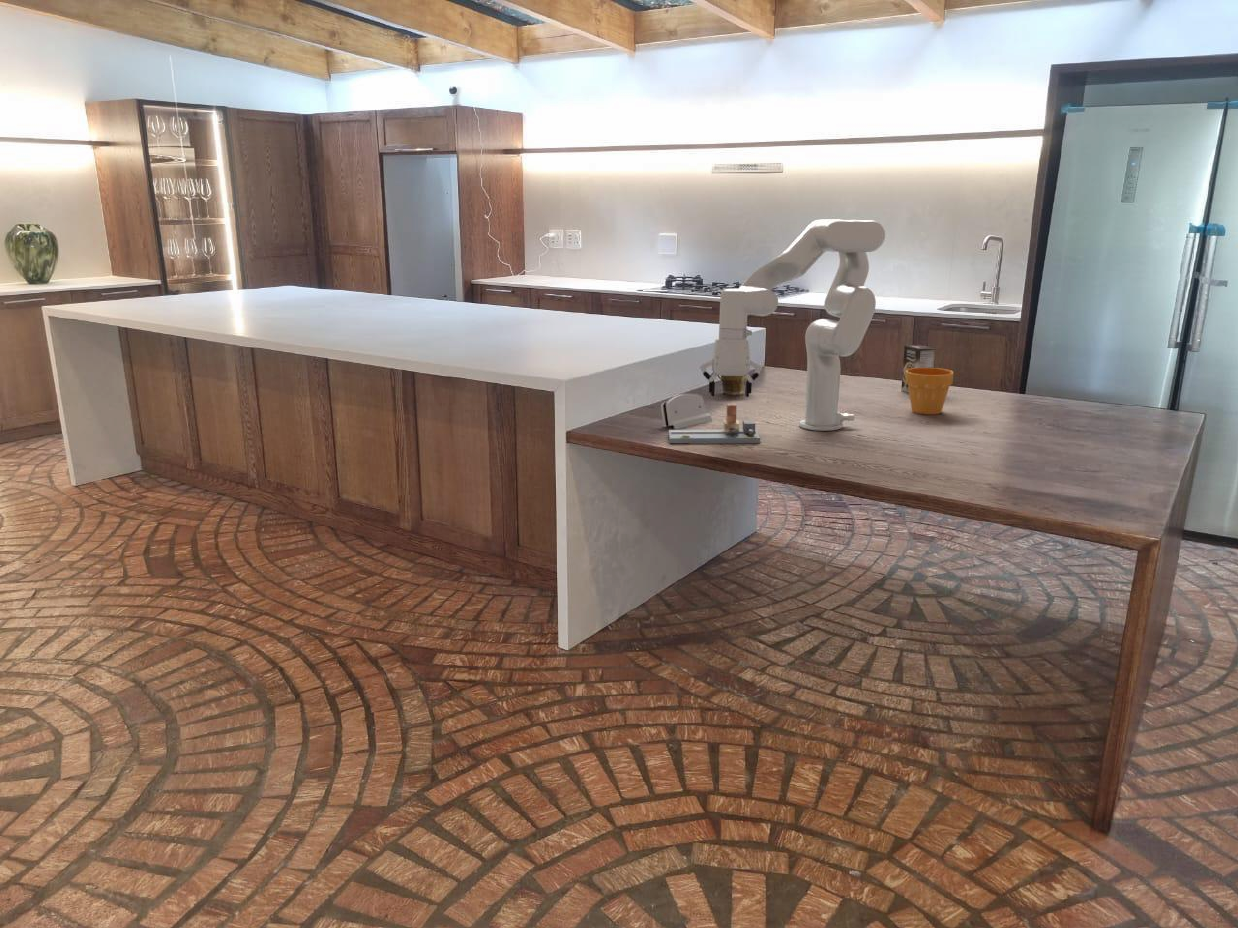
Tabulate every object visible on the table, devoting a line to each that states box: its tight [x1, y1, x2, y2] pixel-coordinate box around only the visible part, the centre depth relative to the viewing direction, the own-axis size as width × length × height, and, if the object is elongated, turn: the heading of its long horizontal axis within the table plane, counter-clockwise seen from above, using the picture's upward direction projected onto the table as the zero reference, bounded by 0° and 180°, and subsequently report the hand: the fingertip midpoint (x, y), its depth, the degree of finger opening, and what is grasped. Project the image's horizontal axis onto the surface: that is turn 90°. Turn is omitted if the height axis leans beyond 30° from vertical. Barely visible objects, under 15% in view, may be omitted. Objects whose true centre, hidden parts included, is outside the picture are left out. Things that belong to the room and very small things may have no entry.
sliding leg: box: [722, 402, 740, 436], centre depth 250 cm, size 4×8×8 cm, turn 179°
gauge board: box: [668, 419, 761, 444], centre depth 251 cm, size 25×10×5 cm, turn 89°
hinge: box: [660, 393, 713, 430], centre depth 271 cm, size 17×5×10 cm, turn 132°
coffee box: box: [900, 344, 936, 394], centre depth 310 cm, size 9×6×16 cm
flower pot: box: [905, 367, 954, 415], centre depth 281 cm, size 14×14×13 cm
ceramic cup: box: [717, 375, 747, 396], centre depth 314 cm, size 13×10×10 cm
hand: (729, 395), depth 249 cm, fingers open, 9 cm apart
